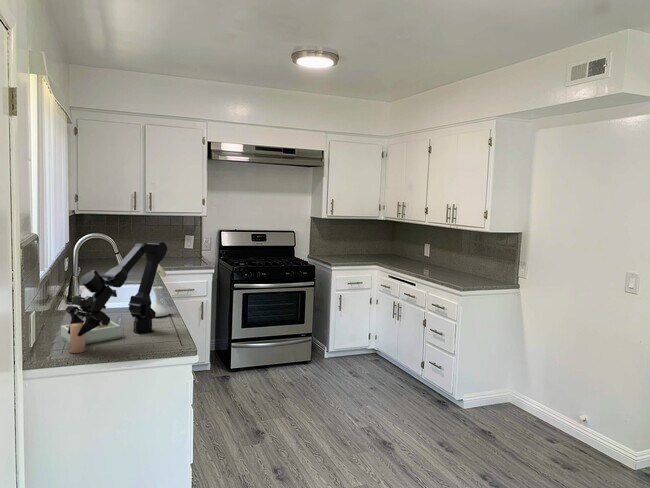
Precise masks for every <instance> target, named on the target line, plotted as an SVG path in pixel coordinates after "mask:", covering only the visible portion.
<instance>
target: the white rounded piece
mask: <svg viewBox="0 0 650 488" xmlns="http://www.w3.org/2000/svg"><path fill="white" fill-rule="evenodd" d="M166 274H167V273H166V271H165V269H164V267H162V266H161V265H160V264H158V268H157V271H156V275H155V278H154V282H153V283H155V285H156V286H152V290H153V291H154V303H152V304H151V308H152V309H153V310H154V311H155V312H156V314H155V317H154V318H156V317H157V318H158V317H159V318H160V317H164V316H169V314H170V313H171V310H170V309H169V308H168V307H167V306H166V305H164V304H163V303H162V302H161V292H162V290H163V289H164V286H158V284H160V283H162V280H160V281H159V282H157V276H158V275H160V277H163V278H165V277H167V275H166Z"/></svg>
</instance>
